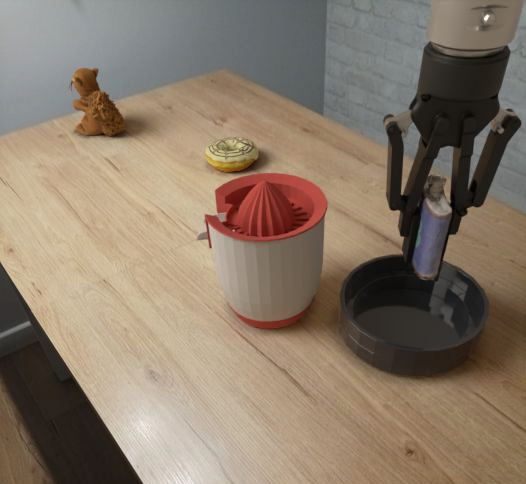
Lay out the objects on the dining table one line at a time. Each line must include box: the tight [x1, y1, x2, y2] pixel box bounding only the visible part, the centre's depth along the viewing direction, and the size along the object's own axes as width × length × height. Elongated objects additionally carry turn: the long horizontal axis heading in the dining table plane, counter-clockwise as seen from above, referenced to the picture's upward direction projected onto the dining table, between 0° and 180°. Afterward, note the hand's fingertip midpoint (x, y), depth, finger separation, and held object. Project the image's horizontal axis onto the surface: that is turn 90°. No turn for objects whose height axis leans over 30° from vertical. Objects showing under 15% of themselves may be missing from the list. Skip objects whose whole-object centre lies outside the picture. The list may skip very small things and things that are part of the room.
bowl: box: [337, 253, 490, 378], centre depth 71 cm, size 19×19×6 cm
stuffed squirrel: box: [68, 67, 127, 137], centre depth 116 cm, size 10×14×13 cm
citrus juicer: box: [196, 172, 328, 329], centre depth 70 cm, size 16×17×20 cm
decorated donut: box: [204, 136, 260, 173], centre depth 106 cm, size 10×11×4 cm
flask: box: [412, 172, 452, 280], centre depth 60 cm, size 9×3×11 cm, turn 174°
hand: (421, 255), depth 63 cm, fingers closed on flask, 3 cm apart
